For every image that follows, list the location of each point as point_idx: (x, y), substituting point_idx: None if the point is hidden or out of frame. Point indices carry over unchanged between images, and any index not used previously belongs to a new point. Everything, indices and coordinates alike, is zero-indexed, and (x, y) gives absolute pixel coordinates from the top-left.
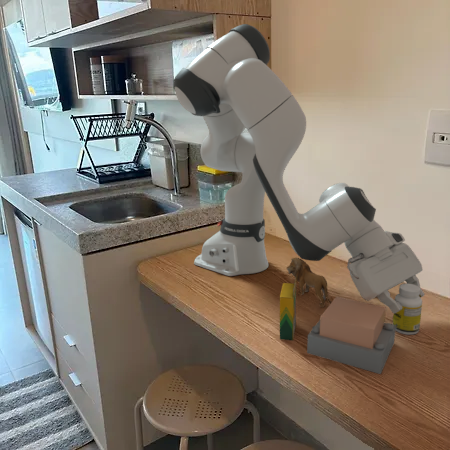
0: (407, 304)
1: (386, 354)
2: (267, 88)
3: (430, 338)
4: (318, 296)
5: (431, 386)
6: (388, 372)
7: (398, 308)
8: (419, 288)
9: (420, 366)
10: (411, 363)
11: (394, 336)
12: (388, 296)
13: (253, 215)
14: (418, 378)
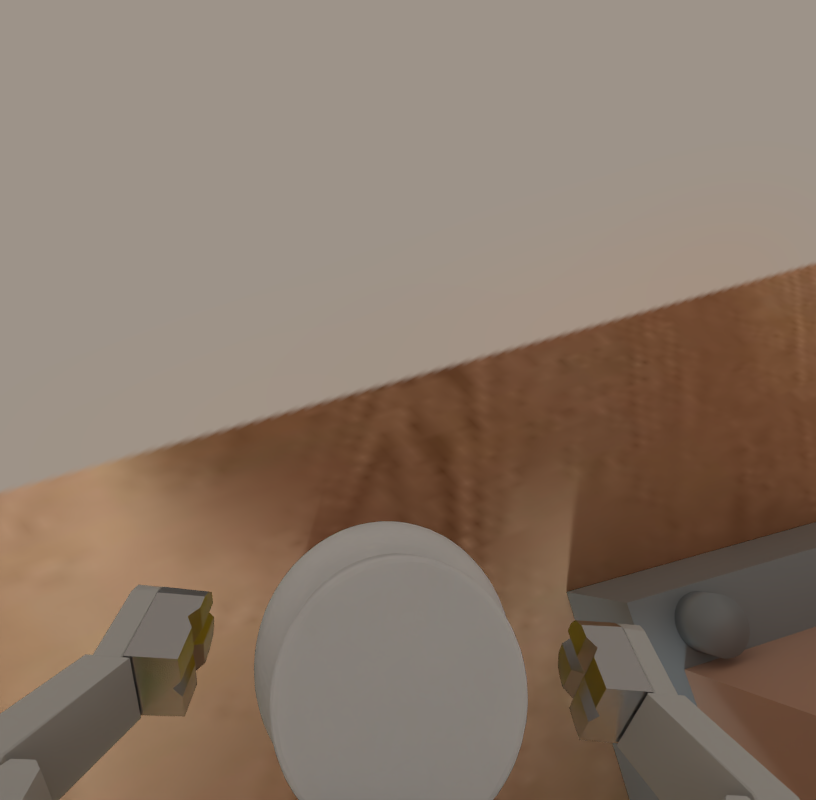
0: (502, 610)
1: (783, 540)
2: None
3: (381, 458)
4: None
5: (735, 334)
6: (796, 496)
7: (644, 635)
8: (356, 571)
9: (651, 409)
10: (661, 447)
11: (592, 594)
12: (769, 794)
13: None
14: (731, 386)
